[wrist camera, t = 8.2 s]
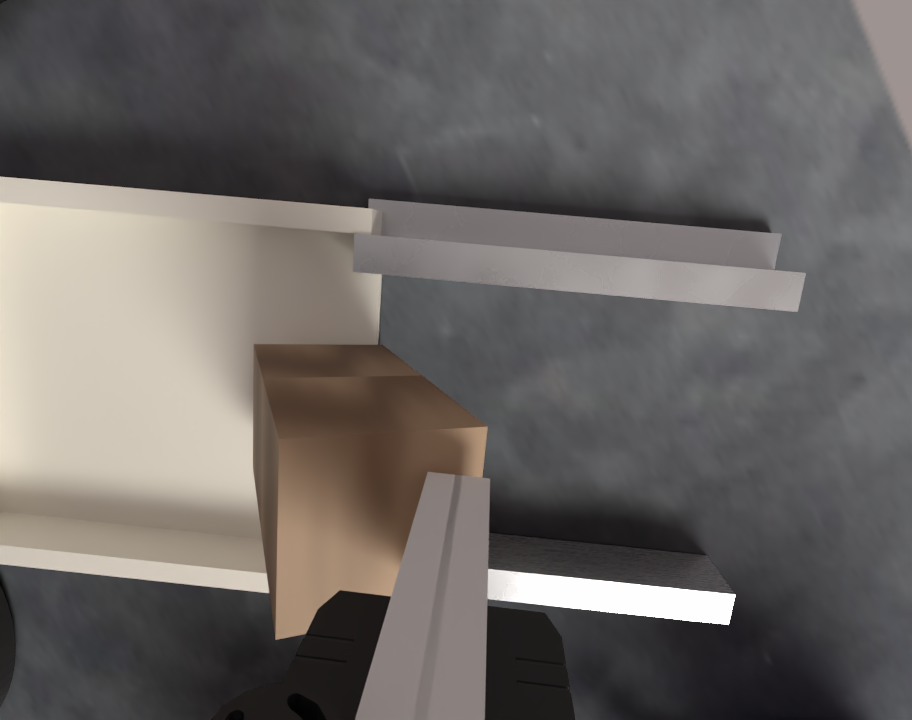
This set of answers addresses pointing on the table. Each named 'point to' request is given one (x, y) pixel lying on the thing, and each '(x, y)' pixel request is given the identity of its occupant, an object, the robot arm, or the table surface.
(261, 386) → the tan cardboard cube
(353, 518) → the brown shipping carton
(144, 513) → the tray
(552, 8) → the table surface
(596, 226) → the slot rails
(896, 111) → the table surface
